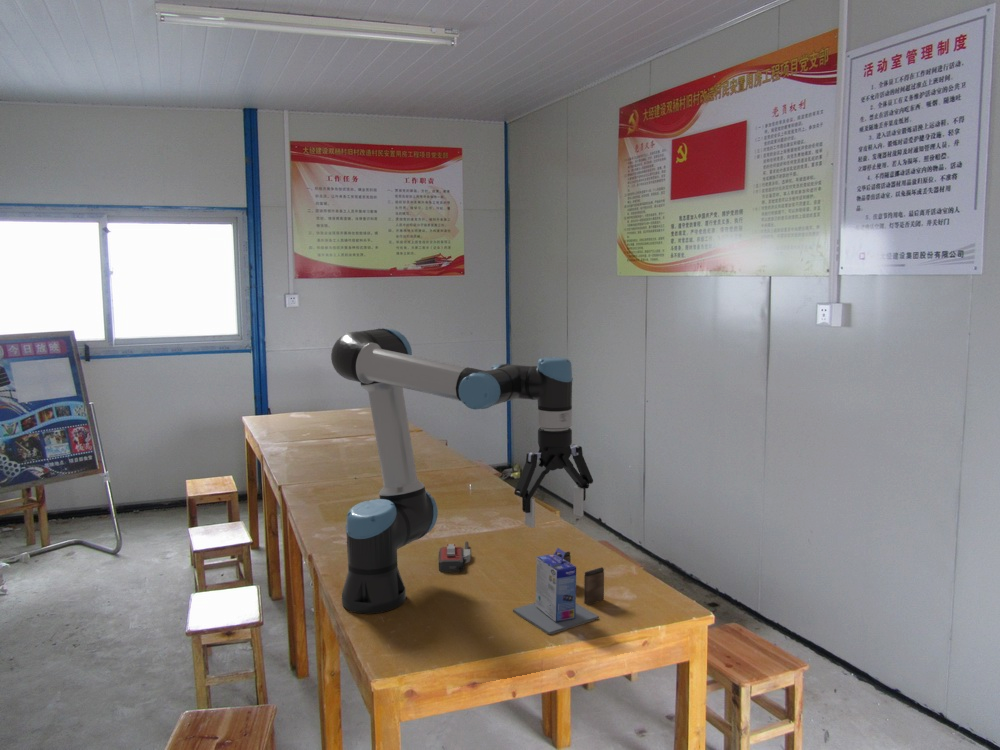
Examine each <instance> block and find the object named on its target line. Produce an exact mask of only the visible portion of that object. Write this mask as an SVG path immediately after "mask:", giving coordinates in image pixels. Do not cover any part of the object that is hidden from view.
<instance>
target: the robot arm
mask: <svg viewBox="0 0 1000 750" xmlns="http://www.w3.org/2000/svg"><path fill="white" fill-rule="evenodd" d="M330 358H331V364H332V366H333V368H334V371H335V372H336V373H337V374H338V375H339V376H340V377H342V378H344V379H345V380H349V381H353V382H357V383H360V386H361V388H362V389H364V390H365V391H367V393H368V398H369V404H370V410H371V418H372V423H373V427H374V434H375V440H376V441H375V442H376V446H377V453H378V459H379V463H380V470H381V475H382V482H383V486H382V488H381V489H380V491H379V492H378V495H379V498H374V499H370V500H364V501H361V502H358V503H357V504H355V505H353V506H352V507H350V509H349V510H348V512H347V514H346V524H345V532H346V547H347V569H348V572H347V575H346V578H345V583H344V586H343V589H342V591H341V592H342V593H341V604H342V606H343V607H344V609H346V610H347V611H349V612H354V613H357V614H378V613H384V612H388V611H391V610H392V611H393V610H394V609H396V608H399V607H401V606H402V605H403V604H404V603H405V602H406V598H407V595H406V594H407V593H406V586H405V584H404V581H403V578H402V576H401V573H400V570H399V567H398V550H399V549H401V548H403V547H405V546H406V545H408V544H411V543H412V542H415V541H417V540H419V539H422V538H423V537H425V536H426V535H427V534H429V533H430V532H431V531H432V530H433V528H434V527H435V525H436V523H437V520H438V515H439V511H438V505H437V502H436V500H435V498H434V497H432V496H431V495H432V494H431V493H429V492H428V491H427V490H426V485H425V484H424V483H423V482H422V481H420V480H419V479H418V475H417V469H416V463H415V462H416V461H415V457H414V456H415V455H414V450H413V444H412V438H411V432H410V426H409V419H408V414H407V413H408V412H407V408H406V401H405V396H404V395H405V394H404V389H407V390H411V391H416V392H420V393H425V394H428V395H433V396H437V397H441V398H446V399H451V400H455V401H459V402H462V404H464V406H466V407H467V408H468V409H470V410H486V409H488V408H492V407H493V406H495V405H499V404H503V403H506V402H509V401H513V400H516V399H518V400H519V399H521V400H533V401H535V400H536V401H537V426H538V427H539V428H538V429H537V443H538V448H539V449H538V451H537V452H531V451H527V452H526V456H525V457H526V459H525V464H524V466H523V468H522V471H521V473H520V476H519V478H518V481H517V484H516V487H515V490H514V495H515V496H518V497H519V498H522V499H521V500H522V507H521V509H522V512H523V513H524V525H525V526H527V527H529V528H531V529H534V528H536V498H535V497H533V496H534V494H535V493H536V491H537V489H538V487H540V485H541V483H542V481H543V479H545V476H546V475H547V474H549V473H550V471H556V470H562V469H564V470H565V471H566V473H567V474H568V476H570V478H571V479H572V481H573V482H574V484H576V485H575V486H573V495H572V496H573V497H572V499H573V504H572V505H573V507H572V508H573V512H572V513H573V515H574V516H577V517H580V518H582V517H584V502H585V501H586V498H587V497H586V496H587V495H586V490H587V489H589V488H590V485H591V484H593V483H594V479H593V477H592V474H591V472H590V470H589V467H588V465H587V463H586V459H585V458H584V455H583V453H584V452H583V447H582V446H580V445H577V444H572V443H573V440H572V439H573V435H572V434H573V430H572V429H571V427H572V425H573V420H572V419H573V417H572V416H573V409H572V408H573V406H572V405H573V400H572V399H573V380H574V379H573V371H572V369H573V368H572V366H573V365H572V362H571V360H570V359H569V358H566V357H558V356H557V357H551V356H550V357H549V356H548V357H547V356H546V357H541V358H539V359H538V361H537V365H522V364H521V365H519V364H510V363H505V364H504V363H503V364H499V363H498V364H494V365H492V366H491V368H490V369H489V370H485V369H483V370H482V369H477V368H472V367H469V366H465V365H460V364H455V363H452V362H451V363H450V362H445V361H440V360H437V359H431V358H427V357H422V356H416V355H413V351H412V347H411V344H410V342H409V340H408V339H407V337H406V336H405V335H404V334H402V333H401V332H400V331H399V330H396V329H393V328H383V327H382V328H376V329H375V328H374V329H368V330H361V331H359V330H358V331H351V332H347V333H345V334H343V335H341V336H340V337H339V338H338V339H337V340H336V341H335V343H334V344H333V346H332V348H331V355H330ZM403 388H404V389H403ZM570 457H572V459H573V461H574V463H575V465H576V467H575V466H574V464H573V462H572V461H571V460H570ZM576 468H577V469H576Z"/></svg>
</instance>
